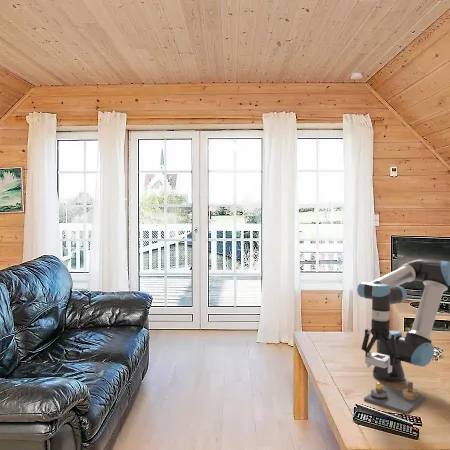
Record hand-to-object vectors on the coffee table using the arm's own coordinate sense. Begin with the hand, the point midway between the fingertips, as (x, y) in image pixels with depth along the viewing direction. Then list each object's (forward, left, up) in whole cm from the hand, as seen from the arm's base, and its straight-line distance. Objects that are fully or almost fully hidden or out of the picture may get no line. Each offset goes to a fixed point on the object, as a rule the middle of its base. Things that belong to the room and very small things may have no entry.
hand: (379, 369), depth 202 cm
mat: (-4, +6, -13) cm, 15 cm away
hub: (0, 0, -12) cm, 12 cm away
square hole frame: (0, 0, +3) cm, 3 cm away
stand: (-8, +11, -12) cm, 18 cm away
